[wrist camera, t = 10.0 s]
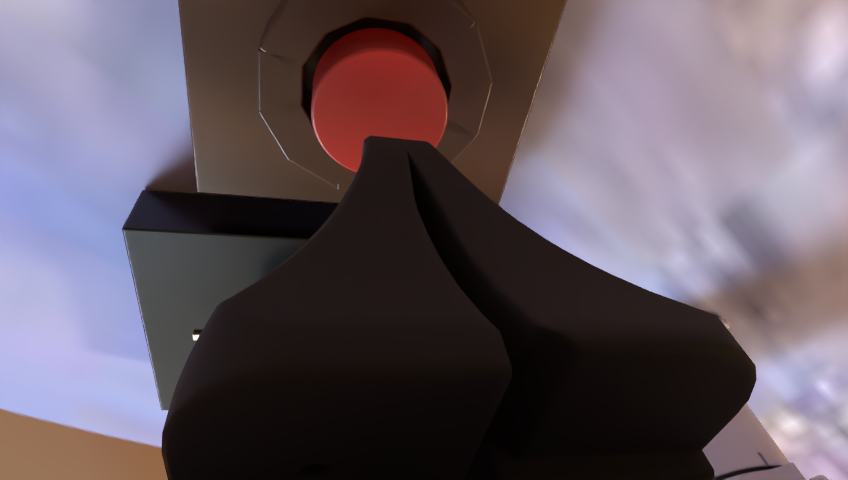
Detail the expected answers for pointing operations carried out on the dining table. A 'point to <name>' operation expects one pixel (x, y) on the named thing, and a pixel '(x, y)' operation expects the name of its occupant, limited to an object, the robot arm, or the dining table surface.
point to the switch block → (294, 72)
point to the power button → (375, 94)
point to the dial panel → (204, 262)
